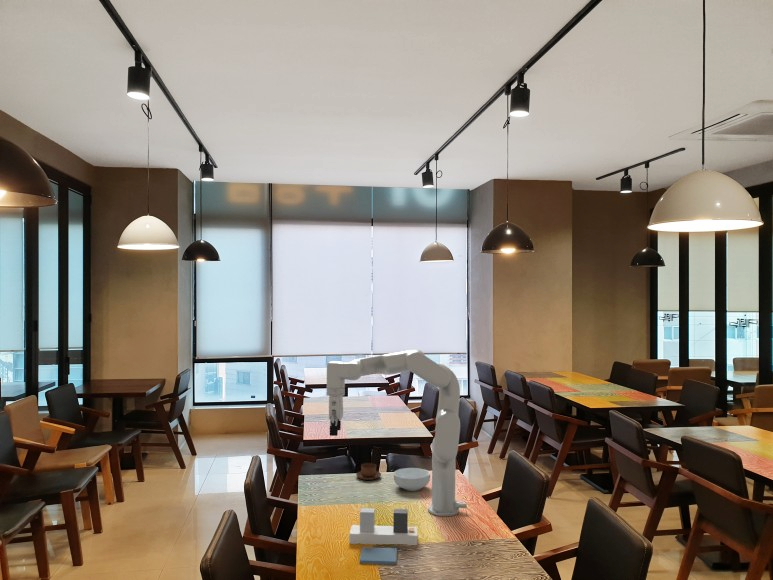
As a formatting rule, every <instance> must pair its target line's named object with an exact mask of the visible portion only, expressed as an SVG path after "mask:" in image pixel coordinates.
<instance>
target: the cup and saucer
mask: <svg viewBox="0 0 773 580" xmlns="http://www.w3.org/2000/svg"><path fill="white" fill-rule="evenodd" d="M360 469H361V470H360V471H358V472H356V473H355V474H356V477H357V478H359V479H361V480H366V481H371V480H377V479H379V478H380V477H382V476H381V475H382V473H381V472H380V471H377V464H375V463H371V462H365V463H362V464H361V465H360Z"/></svg>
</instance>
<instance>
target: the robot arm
mask: <svg viewBox="0 0 773 580" xmlns="http://www.w3.org/2000/svg"><path fill="white" fill-rule="evenodd" d="M406 372H407V373H408V372H411V373H413V374H414V375H415V376H417V377H419V378H420V379H422V380H423V381H424V382H426V383H428V384H429V385H431V386H432V387H434V388H437V389H438V391H439V394H438V402H437V403H438V404H437V411H436V417H435V434H434V437H433V440H432V443H431V453H432V454H431V456H432V457H431V461H432V462H431V464H432V465H431V466H432V468H431V469H432V471H431V475H432V476H431V504H430V505H428V507H427V511H428V512H429V513H430V514H432V515H434V516H438V517H452V516H456V515H457V514H459V513H460V508H461V509H467V508H468V506H467V503H465V502H464V501H457V499H456V473H457V472H456V468H457V467H456V466H457V465H456V458H457V454H458V451H459V443H460V433H461V419H460V417H459V412H460V411H459V410H460V397H461V388H460V387H461V386H460V383H459V380H458V378H457V376H456V374H455V373H454V372H453V370H451V369H450V367H448V366H446V365H445V364H442V363H437V362H436V361H434V360H432V359H431V358H430V357H428V356H426V355H425V353H424V352H423V351H422V350H421V349H409V350H404V351H398V352H393V353H386V354H381V355H375V356H369V357H362V358H356V359H353V360H350V361H349V362H343V361H339V360H333V361H329V362H327V364H326V396H328V419H329V422H330V423H329V436H333V437H337V436H338V434H339V433H338V431H341V430H342V429H341V428H342V427H341V426H342V425H341V424H342V423H341V422H342V421H341V420H342V419H343V417H344V396H345V393H346V392H345V391H346V389H345V387H346V381H347V380H348V381H357V380H359V379H360V378H361V377H364V376H371V375H377V374H378V375H385V376H387V375H388V376H389V375H395V374H401V373H406Z"/></svg>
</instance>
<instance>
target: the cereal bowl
mask: <svg viewBox="0 0 773 580" xmlns="http://www.w3.org/2000/svg"><path fill="white" fill-rule="evenodd" d="M393 480H394V482H395V485H396V486H398V487H399V488H402V489H404V490H405V491H410V492H413V491H421V489H422V488H425V487H426V486H427V485H429V483H430V480H431V472H430V471H429V470H427V469H424V468H419V467H406V468H399V469H396V470H395V471H394V472H393Z"/></svg>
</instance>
